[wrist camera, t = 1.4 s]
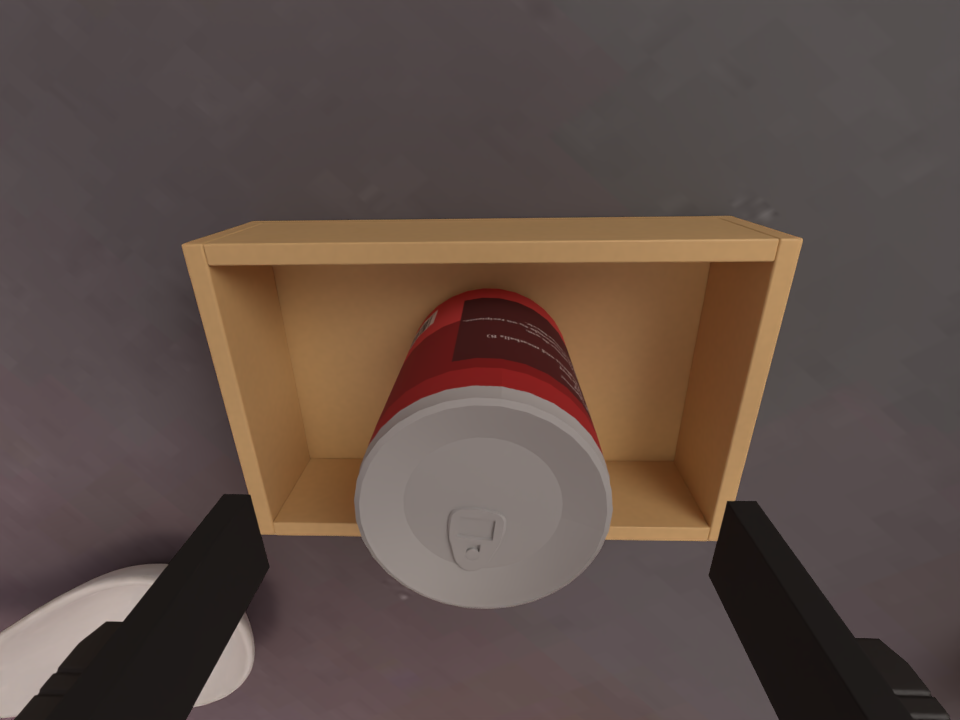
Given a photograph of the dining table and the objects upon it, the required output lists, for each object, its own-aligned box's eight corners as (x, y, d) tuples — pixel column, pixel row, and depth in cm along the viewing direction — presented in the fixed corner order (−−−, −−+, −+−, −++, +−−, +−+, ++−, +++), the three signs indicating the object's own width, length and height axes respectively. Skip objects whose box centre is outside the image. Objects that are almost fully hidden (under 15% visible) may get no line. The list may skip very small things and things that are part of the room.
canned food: (428, 435, 26) (384, 620, 16) (396, 293, 23) (316, 413, 13) (571, 420, 25) (619, 603, 15) (559, 271, 22) (611, 380, 12)
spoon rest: (253, 530, 30) (184, 639, 23) (290, 654, 35) (241, 773, 28) (-105, 530, 31) (-268, 634, 24) (-21, 650, 36) (-137, 764, 29)
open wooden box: (302, 464, 28) (258, 535, 23) (252, 220, 22) (179, 243, 17) (682, 467, 27) (725, 541, 22) (731, 215, 21) (804, 238, 16)
